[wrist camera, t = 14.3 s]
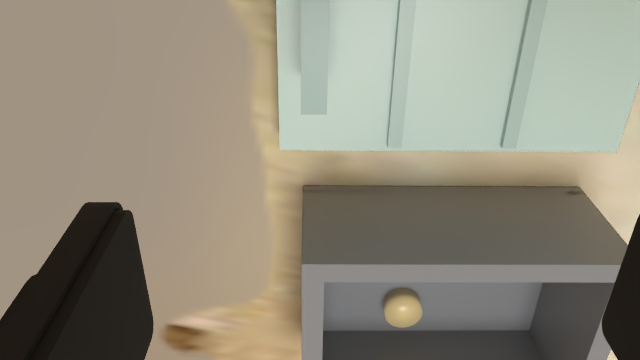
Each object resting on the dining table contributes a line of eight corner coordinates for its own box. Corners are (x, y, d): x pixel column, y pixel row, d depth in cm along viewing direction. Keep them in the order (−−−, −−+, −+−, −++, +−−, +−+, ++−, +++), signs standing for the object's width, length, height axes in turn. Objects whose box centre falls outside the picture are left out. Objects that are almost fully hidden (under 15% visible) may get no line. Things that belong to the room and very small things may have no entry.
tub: (579, 187, 36) (643, 265, 29) (537, 332, 43) (581, 424, 36) (303, 185, 36) (301, 264, 29) (303, 332, 42) (301, 425, 35)
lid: (681, -139, 27) (793, -138, 21) (599, 135, 34) (664, 197, 28) (275, -147, 27) (264, -148, 20) (281, 133, 34) (274, 195, 28)
